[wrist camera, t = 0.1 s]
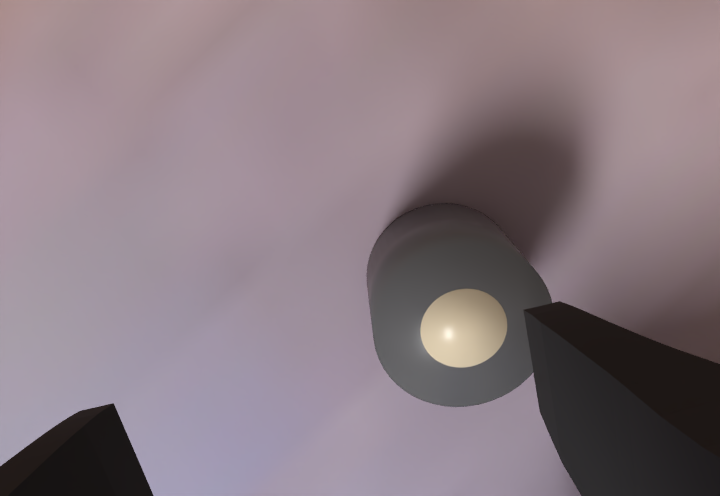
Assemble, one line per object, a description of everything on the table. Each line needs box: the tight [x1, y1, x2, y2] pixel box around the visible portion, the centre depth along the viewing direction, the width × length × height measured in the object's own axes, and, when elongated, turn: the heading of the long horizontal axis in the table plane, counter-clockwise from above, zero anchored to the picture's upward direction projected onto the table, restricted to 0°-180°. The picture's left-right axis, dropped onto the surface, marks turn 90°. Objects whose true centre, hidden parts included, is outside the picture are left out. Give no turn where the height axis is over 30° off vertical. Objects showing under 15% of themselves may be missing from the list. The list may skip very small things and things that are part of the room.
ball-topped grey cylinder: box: [367, 203, 552, 407], centre depth 19 cm, size 5×5×4 cm
